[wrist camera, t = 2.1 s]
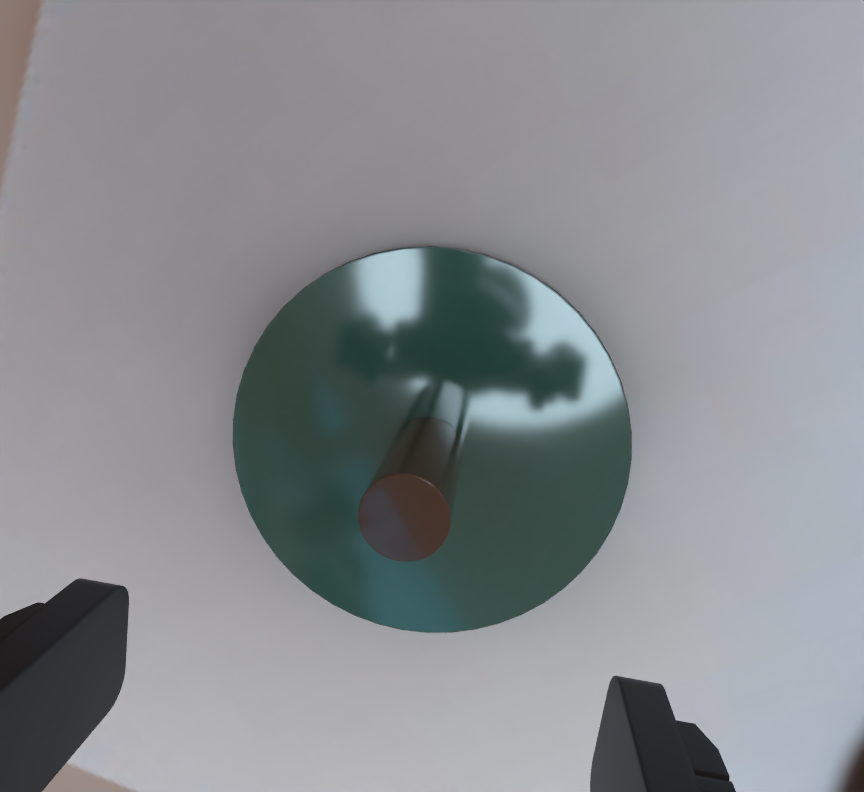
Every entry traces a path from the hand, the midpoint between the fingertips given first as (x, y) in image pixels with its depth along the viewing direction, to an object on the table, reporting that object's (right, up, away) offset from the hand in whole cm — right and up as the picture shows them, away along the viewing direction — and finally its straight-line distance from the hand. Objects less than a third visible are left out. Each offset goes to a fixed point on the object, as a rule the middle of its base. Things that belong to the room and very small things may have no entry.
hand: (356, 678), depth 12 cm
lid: (+1, +3, +13) cm, 13 cm away
